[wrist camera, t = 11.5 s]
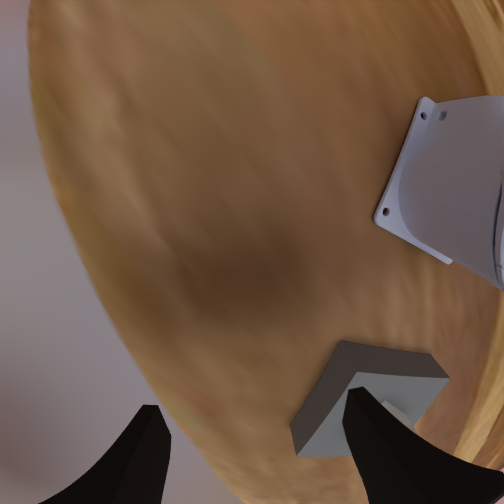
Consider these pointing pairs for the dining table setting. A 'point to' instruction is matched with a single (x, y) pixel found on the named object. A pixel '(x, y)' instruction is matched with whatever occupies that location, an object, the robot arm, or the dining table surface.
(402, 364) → the base block
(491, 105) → the robot arm
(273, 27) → the dining table surface
